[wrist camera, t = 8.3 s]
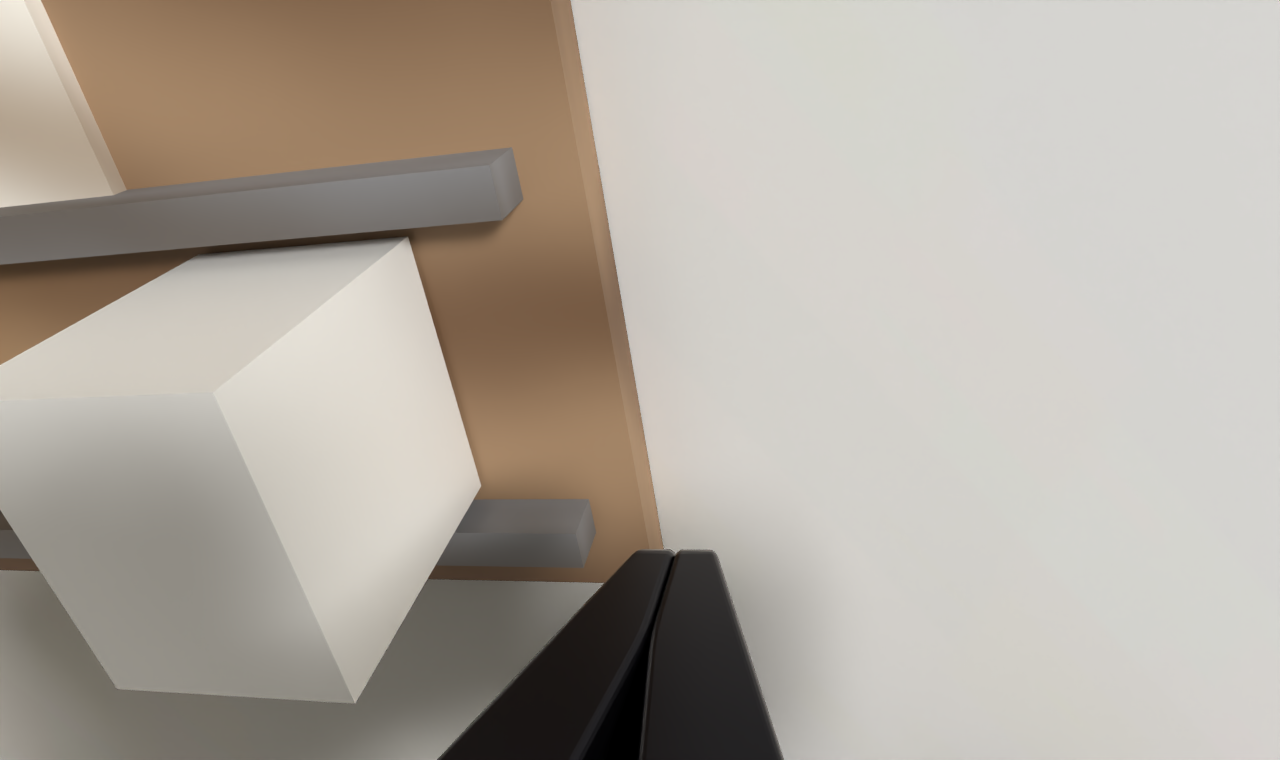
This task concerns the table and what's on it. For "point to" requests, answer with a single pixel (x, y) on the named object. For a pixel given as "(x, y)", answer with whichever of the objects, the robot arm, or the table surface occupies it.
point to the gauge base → (350, 217)
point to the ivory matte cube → (241, 469)
